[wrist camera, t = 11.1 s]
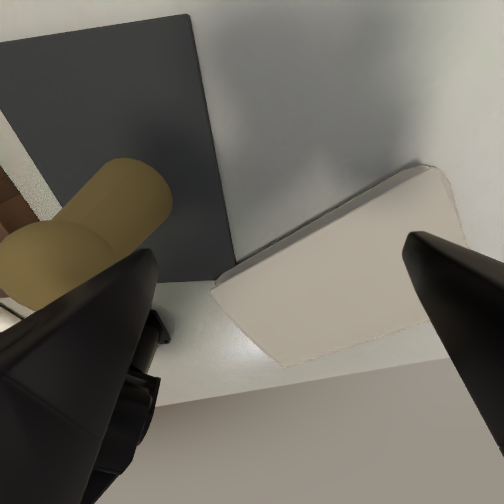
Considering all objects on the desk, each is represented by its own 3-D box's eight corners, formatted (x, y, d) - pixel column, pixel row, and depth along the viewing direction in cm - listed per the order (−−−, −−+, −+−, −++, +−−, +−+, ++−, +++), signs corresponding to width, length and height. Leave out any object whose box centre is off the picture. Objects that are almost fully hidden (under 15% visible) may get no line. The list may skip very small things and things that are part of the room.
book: (474, 275, 25) (505, 306, 22) (281, 347, 33) (283, 376, 30) (440, 147, 17) (480, 167, 14) (202, 284, 26) (195, 314, 23)
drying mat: (238, 275, 26) (237, 279, 25) (113, 281, 27) (110, 285, 27) (189, 14, 14) (187, 13, 13) (-30, 48, 15) (-39, 48, 15)
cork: (152, 238, 23) (83, 347, 14) (86, 198, 20) (-46, 298, 12) (186, 191, 20) (124, 292, 11) (113, 139, 17) (-37, 212, 9)
